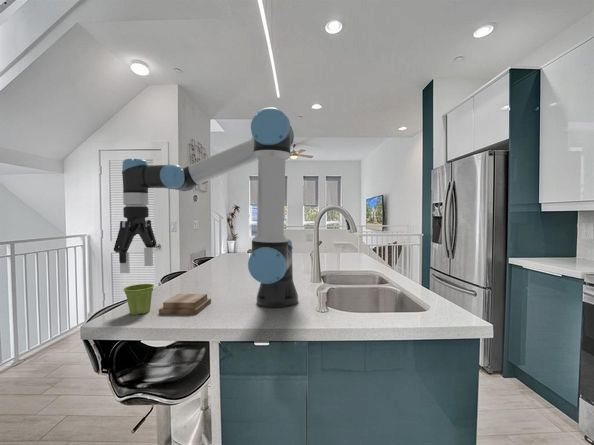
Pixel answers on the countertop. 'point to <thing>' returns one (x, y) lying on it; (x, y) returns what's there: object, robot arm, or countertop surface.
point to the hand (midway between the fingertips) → (137, 269)
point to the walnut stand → (185, 304)
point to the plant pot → (139, 298)
